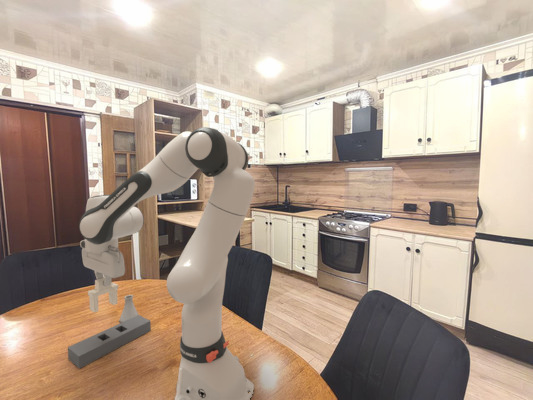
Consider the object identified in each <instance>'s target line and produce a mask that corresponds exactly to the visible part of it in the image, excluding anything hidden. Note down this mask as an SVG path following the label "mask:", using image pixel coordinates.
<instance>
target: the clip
mask: <svg viewBox="0 0 533 400" xmlns="http://www.w3.org/2000/svg"><path fill="white" fill-rule="evenodd" d="M103 277H104V276H103ZM104 278H105V277H104ZM104 278H101V279H97V278H96V279H95V280H94V288H93V289H91V290H88V291H87V296H88V298H89V311H91V312H93V313H95V314H96V313H97V312H99V297H100V296H102V295H105V294H108V302H109V304H110V305H113V306H115V305H118V290H119V284H117V283H114V282H113V281H112V279H113V278H112V279H111V285H110V286H107V287H105V286H103V281H104Z"/></svg>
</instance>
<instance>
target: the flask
mask: <svg viewBox="0 0 533 400" xmlns="http://www.w3.org/2000/svg"><path fill="white" fill-rule="evenodd" d="M133 298H134V295H133V294H128V295H125V296H124V297H123V299H124V307H123V309H122V312H121V315H120V317H119V319H118V322H119V323H122V322H124V321H126V320H129V319H131V318H133V317H135V316H137V315H140V314H139V312H138V310H137V308H136V306H135V304H134V300H133Z"/></svg>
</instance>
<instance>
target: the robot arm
mask: <svg viewBox="0 0 533 400" xmlns="http://www.w3.org/2000/svg"><path fill="white" fill-rule="evenodd" d="M248 166H249V155H248V152H247V149H246V148H245V147H244V146H243V145H242V144H241V143H240V142H238V141H236V140H235V139H233V137H231V136H229V135H227V134H225V133H223V132H222V131H219V130H217V129H215V128H213V127H212V128H211V127H199V128H197V129H194V130H193V131H189V130H187V131H183V132H181V133H180V134H178V135H177V136H175V137H174V138H172V140H170V141H169V142H168V143H167V144H166V145H165V146H164V147H163V148H162V149H161V150H160V151H159V152H158V153H157V154H156V155H155V157H154V158H153V159H152V160H151V161H150V162H148V163H147V164H146V165H145V166H144V167H142V168H141V169H139V170H138V171H137V172H135V173H134V174H132V175H130V177H129V178H127V179H126V180H125V181H123V182H122V184H120V185H119V186H118V187H117V188H115V190H113V192H112V193H111V194H101V195H94V196H91V197H89V198H88V199H87V202H86V206H85V212H84V213H83V215H82V216H81V218H80V220H79V223H78V230H79V233H80V235H81V237H83V238H84V239H83V240H81V241H80V242H79V245H80V248H82V249H81V258H82V264H83V266H84V267H85V268H87V269H90V270H92V271H93V272H94V275H95V276H94V277H95V278H96V280H97V279H101V278H104V277H105V278H104V281H103V286H105V287H107V286H110V285H111V279H117V278H120V277H123V276H124V275H125V273H126V265H125V258H124V255H123V253H122V251H120V249H119V239H120V238H124V237H127V236H132V235H135V234H137V233H139V232H140V231H141V230H142V228H143V226H144V223H145V219H144V218H145V217H144V214H143V212H142V211H141V210H140V208H138V207H137V206H136V205H137V204H138V203H140V202H141V201H143V200H146V199H148V198H151V197H155V196H158V195H163V194H168V193H171V192H174V191H177V190H178V189H179V188H180V187H182V186H183V185H184V184H186V183H187V182H188V181H189V179H191V177H192V176H193V175H194V174H195V173H196V172H197V171H198V170H199V171H200V172H201V173H203V175H204V176H205V177H206V178H213V187H212V190H211V193H210V195H209V197H208V200H207V202H206V205H205V207H204V210H203V212H202V215H201V216H200V219H199V222H198V224H197V226H196V228H195V230H194V232H193V234H192V235H191V237H190V238H189V240H188V241H187V242H186V243H187V244H186V245H185V247H184V249H183V250H182V252H181V255H180V256H179V258H178V260H177V261H176V262H175V264H174V266H173V267H172V269H171V271H170V273H169V274H168V275H167V278H166V289H167V292H168V294H169V296H171V298H172V299H173V300H174V301H176V302H177V303H180V304H183V306H182V309H181V337H180V340H179V341H180V343H179V349H180V350H179V352H180V355H181V357H180V358H181V359H180V361H179V363H180V364H179V368H178V376H177V382H176V387H175V388H176V389H175V390H176V393H175V397H174V399H173V400H250V398H251V397H252V398H253V395H254V392H253V390H254V391H255V384H254V383H253V382H252V381H251V380H250V379H249V378H247V377H246V372H245V369H244V367H243V365H242V364H241V363H240V359H239V356H237V355H233V353H232V352H231V351H230V349H228V346H229V344H230V340H229V339H228V340H227V341H226V339H225V335H224V332H223V330H222V328H223V327H222V324H223V323H222V317H223V316H222V313H223V310H222V309H223V300H224V293H225V286H226V276H227V275H226V273H227V267H228V262H229V257H228V255H229V253H230V251H231V249H232V247H233V246H234V244H235V242H236V240H237V237H238V235H239V233H240V230H241V228H242V226H243V223H244V222H245V219H246V217H247V214H248V212H249V209H250V206H251V203H252V200H253V196H254V192H255V187H256V181H255V179H254V176H253V175H252V174H251V173H249V172H248V171H247V167H248ZM248 392H250V393H248ZM252 394H253V395H252ZM252 398H251V399H252Z"/></svg>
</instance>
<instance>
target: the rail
mask: <svg viewBox="0 0 533 400" xmlns="http://www.w3.org/2000/svg"><path fill="white" fill-rule="evenodd" d="M151 325H152V324H151V320H149V319H148V318H145V317H143V316H142V315H140V314H139V315H137V316H135V317H133V318H131V319H129V320H126V321H124V322H122V323H121V322H119V323H118V324H116V325H113V326H111V327H108V328H107V329H105V330H102V331H100V332H98V333H96V334H94V335H92V336H89V337H87V338H85V339H83V340H80V341H77V343H76V342H75V343H74V344H72V345H69V346H67V358H68V359H67V360H69V361H70V362H71V363H72V364H73V365H75V366H76V367H77V368H78V369H82V368H84V367H85V366H87V365H90V364H91V363H93V362H95V361H97V360H98V359H100V358H102V357H104V356H107V355H108V354H110V353H111V352H114V351H115V350H117V349H120V348H121V347H123V346H125V345H126V344H129V343H130V342H133V341H134V340H136V339H138V338H140V337H142V336H144V335H145V334H147V333H149V332H151V331H152V330H151V327H152V326H151Z"/></svg>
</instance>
